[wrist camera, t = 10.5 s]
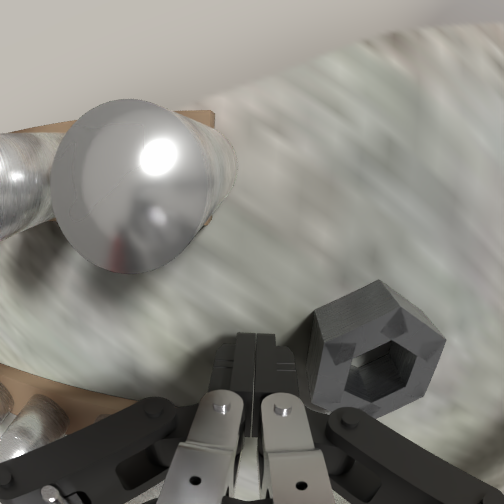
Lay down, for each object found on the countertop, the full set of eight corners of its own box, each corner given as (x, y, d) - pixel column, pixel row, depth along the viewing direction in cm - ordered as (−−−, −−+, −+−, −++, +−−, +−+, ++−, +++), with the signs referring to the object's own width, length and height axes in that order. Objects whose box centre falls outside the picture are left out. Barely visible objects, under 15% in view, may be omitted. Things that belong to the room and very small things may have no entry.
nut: (430, 281, 13) (457, 306, 10) (397, 386, 14) (413, 418, 12) (319, 276, 13) (330, 305, 10) (301, 390, 15) (305, 426, 12)
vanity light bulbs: (242, 114, 11) (212, 63, 4) (233, 455, 16) (222, 554, 10) (-63, 154, 11) (-145, 174, 5) (-6, 394, 17) (-50, 449, 10)
